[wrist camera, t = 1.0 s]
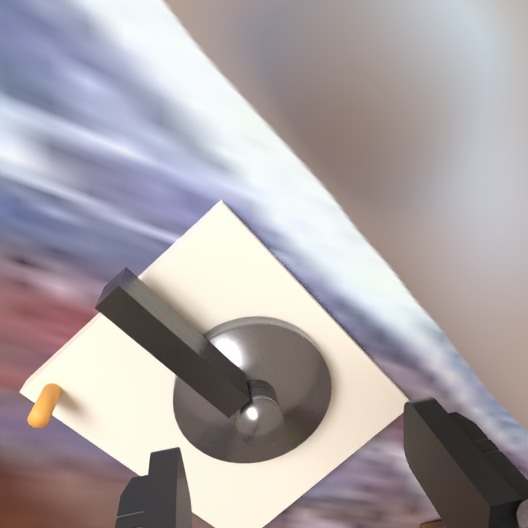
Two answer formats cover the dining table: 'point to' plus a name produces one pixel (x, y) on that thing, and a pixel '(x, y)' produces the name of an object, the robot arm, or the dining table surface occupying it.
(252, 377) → the dial
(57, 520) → the dining table surface
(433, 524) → the brown mottled lump
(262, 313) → the dial base
